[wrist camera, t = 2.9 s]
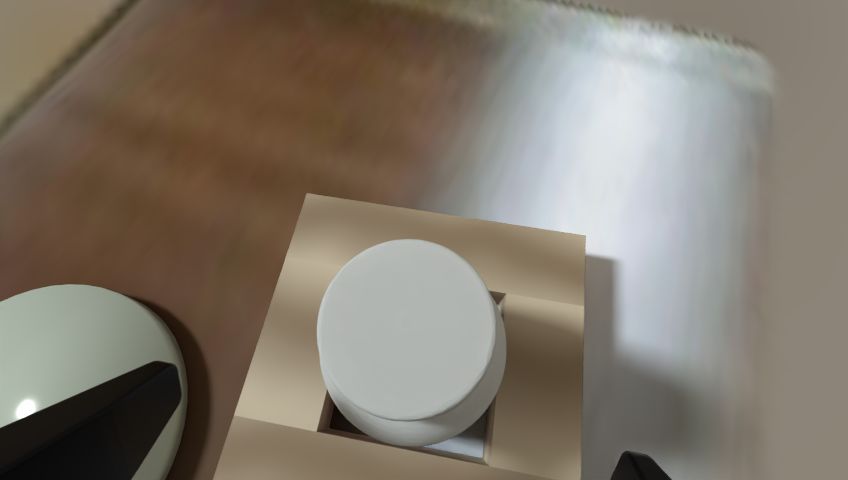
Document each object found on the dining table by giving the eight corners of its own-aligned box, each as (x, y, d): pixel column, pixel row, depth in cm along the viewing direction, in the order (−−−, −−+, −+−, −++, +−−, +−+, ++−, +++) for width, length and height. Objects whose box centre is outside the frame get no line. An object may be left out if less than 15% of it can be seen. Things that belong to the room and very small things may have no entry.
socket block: (559, 574, 15) (578, 599, 13) (228, 502, 15) (201, 515, 14) (570, 251, 19) (585, 235, 18) (317, 212, 20) (306, 193, 18)
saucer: (237, 450, 16) (226, 453, 15) (-73, 700, 13) (-110, 721, 12) (122, 243, 20) (107, 235, 19) (-141, 405, 17) (-173, 405, 16)
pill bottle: (396, 283, 19) (367, 176, 10) (498, 337, 18) (570, 272, 9) (335, 388, 17) (230, 375, 8) (444, 455, 16) (465, 525, 7)
